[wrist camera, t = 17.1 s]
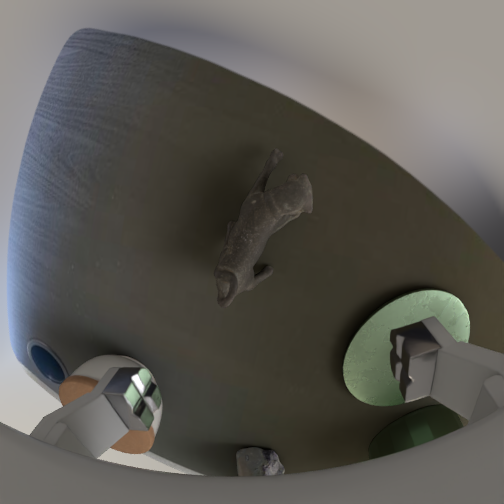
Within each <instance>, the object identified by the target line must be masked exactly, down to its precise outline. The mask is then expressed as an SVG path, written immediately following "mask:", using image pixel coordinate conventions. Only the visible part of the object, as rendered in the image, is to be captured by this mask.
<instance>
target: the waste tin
mask: <svg viewBox="0 0 504 504" xmlns="http://www.w3.org/2000/svg"><path fill="white" fill-rule="evenodd" d="M462 427H463V425H462V423H461V421H460V419H459V417H458V415H457V413H456V412H455V411H453V410H451V409H450V408H448V407H446V406H445V405H433V406H428V407H425V408H421V409H419V410H416V411H413V412H411V413H409V414H407V415H405V416H403V417H401V418H399V419H398V420H396V421H394V422H393V423H391V424H390V425H388V426H387V427H386V428H384V429H383V430H382V431H381V432H380V433H379V434H378V435H377V436H376V437H375V438H374V439H373V441H372V442H371V444H370V446H369V460H372V459H376V458H379V457H383V456H387V455H390V454H394V453H397V452H400V451H403V450H406V449H409V448H412V447H415V446H418V445H421V444H424V443H426V442H429V441H432V440H434V439H437V438H439V437H442V436H444V435H447V434H449V433H451V432H454V431H456V430H458V429H460V428H462Z"/></svg>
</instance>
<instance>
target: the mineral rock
mask: <svg viewBox="0 0 504 504" xmlns="http://www.w3.org/2000/svg"><path fill="white" fill-rule="evenodd" d="M236 458H237V470H238V475H239V476H269V475H283V474H284V470H285V469H284V467H283V465H282V464H281V463H280V462H279V458H278V455H277V454H276V453H275V452H274V451H273V450H263V449H260V448H257V447H251V448H246V449H241V450H239V451H238V452H237V453H236Z"/></svg>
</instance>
